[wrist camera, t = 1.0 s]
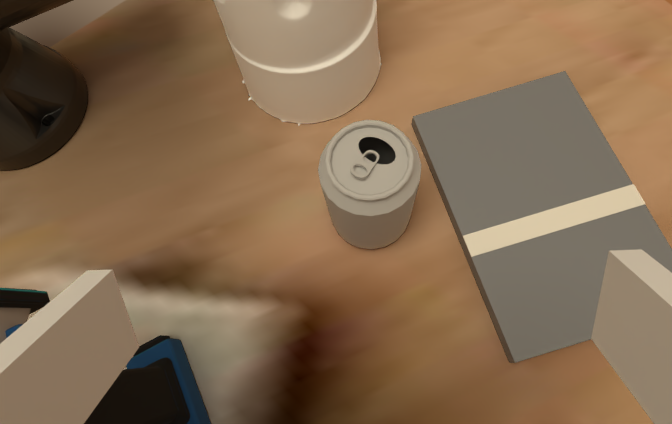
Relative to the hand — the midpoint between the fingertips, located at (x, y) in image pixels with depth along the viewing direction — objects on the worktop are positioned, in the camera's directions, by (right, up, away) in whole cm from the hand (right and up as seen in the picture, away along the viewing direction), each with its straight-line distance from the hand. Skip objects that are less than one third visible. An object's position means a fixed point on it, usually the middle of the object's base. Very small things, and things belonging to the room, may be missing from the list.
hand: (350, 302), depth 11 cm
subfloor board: (+18, +3, +27) cm, 33 cm away
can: (+3, +2, +28) cm, 29 cm away
